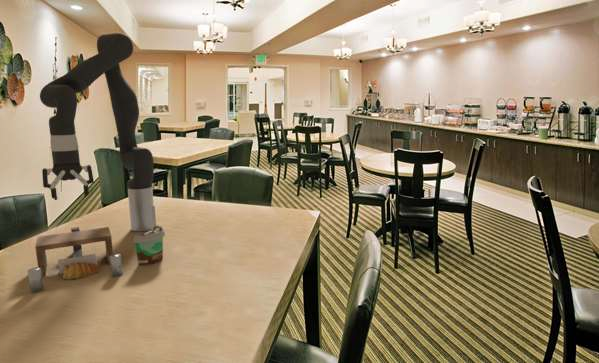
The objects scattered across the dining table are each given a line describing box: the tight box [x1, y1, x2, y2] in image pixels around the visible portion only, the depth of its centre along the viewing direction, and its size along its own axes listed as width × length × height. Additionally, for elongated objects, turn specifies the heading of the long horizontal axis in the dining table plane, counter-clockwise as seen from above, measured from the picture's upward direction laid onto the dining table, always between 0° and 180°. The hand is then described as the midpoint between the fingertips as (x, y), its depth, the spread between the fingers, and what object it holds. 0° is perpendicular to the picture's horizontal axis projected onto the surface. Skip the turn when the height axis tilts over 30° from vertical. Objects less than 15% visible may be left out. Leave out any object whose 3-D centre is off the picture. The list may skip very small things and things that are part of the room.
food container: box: [133, 224, 166, 266], centre depth 129 cm, size 12×6×10 cm, turn 168°
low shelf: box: [34, 226, 114, 278], centre depth 125 cm, size 20×10×10 cm, turn 119°
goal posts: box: [27, 253, 123, 293], centre depth 113 cm, size 23×3×6 cm, turn 119°
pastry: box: [62, 262, 99, 281], centre depth 119 cm, size 9×7×4 cm
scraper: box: [57, 226, 98, 275], centre depth 129 cm, size 10×18×9 cm, turn 29°
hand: (71, 197), depth 131 cm, fingers open, 8 cm apart
